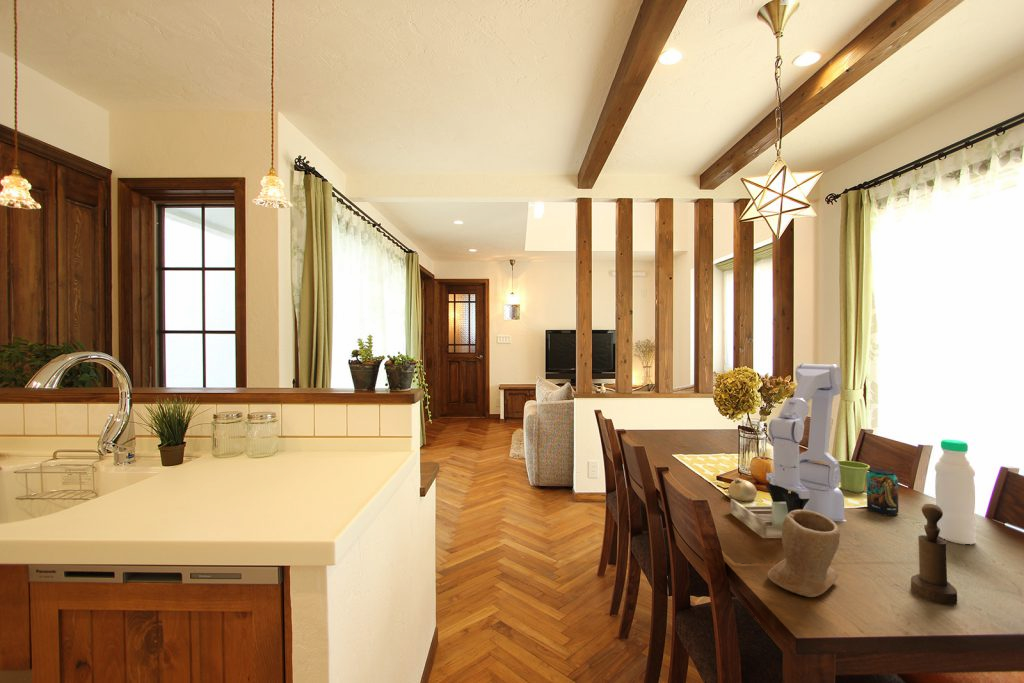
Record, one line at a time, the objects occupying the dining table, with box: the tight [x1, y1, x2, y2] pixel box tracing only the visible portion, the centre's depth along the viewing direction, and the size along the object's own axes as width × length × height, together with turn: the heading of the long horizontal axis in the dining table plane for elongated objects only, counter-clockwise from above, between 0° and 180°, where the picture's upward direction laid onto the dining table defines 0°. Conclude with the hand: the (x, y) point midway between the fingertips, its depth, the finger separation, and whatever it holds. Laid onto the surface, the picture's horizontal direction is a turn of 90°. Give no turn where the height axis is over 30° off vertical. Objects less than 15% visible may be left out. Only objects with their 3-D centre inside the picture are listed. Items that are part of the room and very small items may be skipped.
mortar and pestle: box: [910, 503, 958, 606], centre depth 84 cm, size 7×6×18 cm
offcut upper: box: [755, 514, 772, 521], centre depth 117 cm, size 4×10×1 cm, turn 86°
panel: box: [771, 501, 788, 526], centre depth 111 cm, size 1×7×8 cm, turn 90°
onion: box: [727, 477, 758, 502], centre depth 136 cm, size 8×8×7 cm
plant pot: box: [837, 460, 871, 493], centre depth 145 cm, size 9×9×9 cm
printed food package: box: [866, 467, 899, 516], centre depth 126 cm, size 7×7×12 cm
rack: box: [730, 498, 783, 539], centre depth 117 cm, size 16×16×5 cm
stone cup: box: [767, 510, 841, 598], centre depth 89 cm, size 15×12×15 cm
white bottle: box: [934, 439, 977, 545], centre depth 108 cm, size 7×7×25 cm
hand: (786, 516), depth 111 cm, fingers open, 5 cm apart
